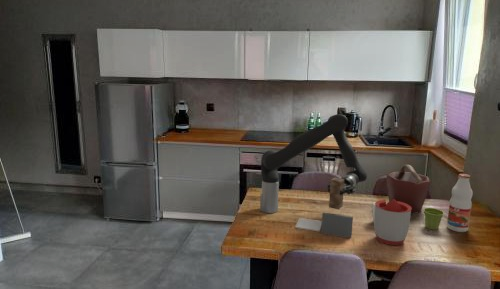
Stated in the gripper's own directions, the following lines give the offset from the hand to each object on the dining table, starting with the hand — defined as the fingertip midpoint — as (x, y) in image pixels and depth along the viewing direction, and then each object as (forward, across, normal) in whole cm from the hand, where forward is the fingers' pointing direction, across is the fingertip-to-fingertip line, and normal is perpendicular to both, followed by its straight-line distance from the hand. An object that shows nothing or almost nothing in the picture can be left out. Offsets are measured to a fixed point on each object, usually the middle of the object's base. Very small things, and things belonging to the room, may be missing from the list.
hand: (334, 191), depth 176 cm
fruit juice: (-39, +51, +20) cm, 67 cm away
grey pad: (0, -12, +20) cm, 23 cm away
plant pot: (-33, +40, +20) cm, 56 cm away
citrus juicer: (-7, +26, +20) cm, 33 cm away
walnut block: (-3, 0, +8) cm, 9 cm away
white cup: (-24, +17, +20) cm, 35 cm away
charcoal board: (+4, +3, +20) cm, 20 cm away
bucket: (-55, +23, +20) cm, 62 cm away
